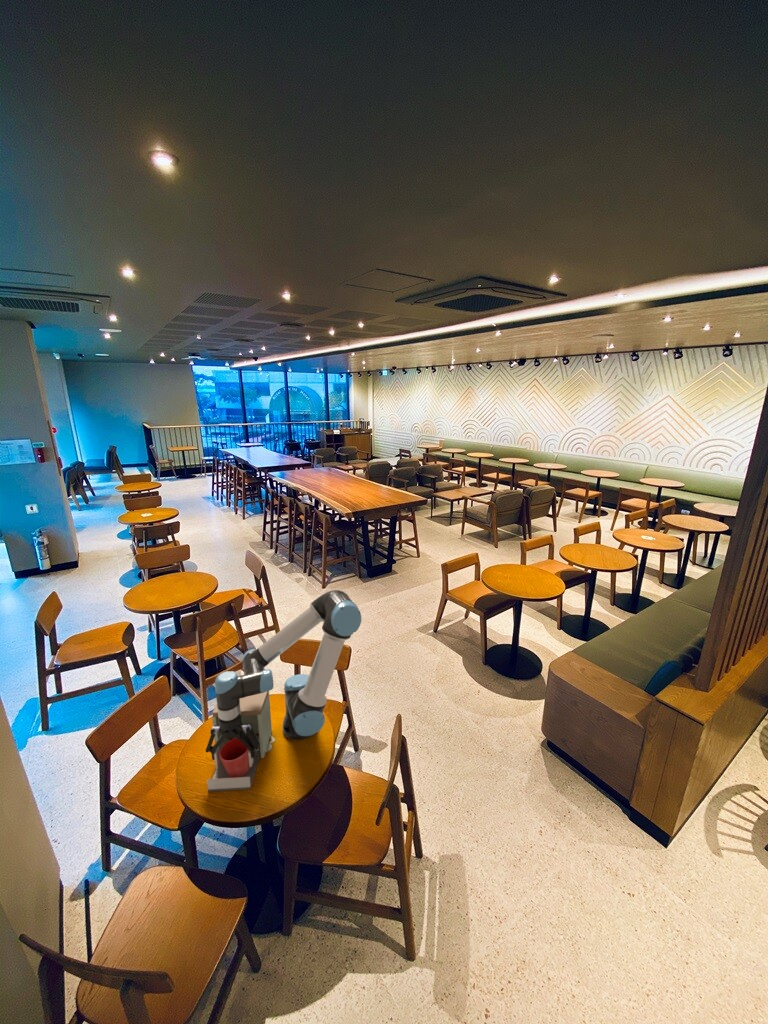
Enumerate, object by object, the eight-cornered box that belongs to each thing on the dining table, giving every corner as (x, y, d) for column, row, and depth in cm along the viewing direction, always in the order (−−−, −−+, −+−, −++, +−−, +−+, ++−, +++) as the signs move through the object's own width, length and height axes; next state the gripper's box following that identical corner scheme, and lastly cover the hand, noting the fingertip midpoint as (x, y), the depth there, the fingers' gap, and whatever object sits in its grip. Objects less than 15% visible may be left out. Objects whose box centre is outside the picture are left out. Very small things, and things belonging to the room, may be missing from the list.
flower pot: (217, 780, 143) (212, 758, 141) (234, 756, 153) (230, 734, 151) (243, 784, 140) (239, 762, 138) (259, 759, 151) (255, 738, 149)
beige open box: (271, 730, 167) (268, 687, 163) (264, 757, 154) (260, 711, 149) (228, 732, 166) (224, 689, 162) (216, 760, 153) (211, 713, 148)
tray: (260, 756, 154) (259, 746, 154) (250, 789, 140) (249, 778, 139) (222, 758, 154) (221, 748, 153) (208, 791, 139) (207, 781, 139)
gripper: (265, 705, 146) (269, 755, 151) (199, 708, 144) (205, 758, 149) (260, 720, 139) (265, 771, 143) (191, 723, 137) (197, 775, 142)
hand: (234, 765), depth 146 cm, fingers open, 11 cm apart
